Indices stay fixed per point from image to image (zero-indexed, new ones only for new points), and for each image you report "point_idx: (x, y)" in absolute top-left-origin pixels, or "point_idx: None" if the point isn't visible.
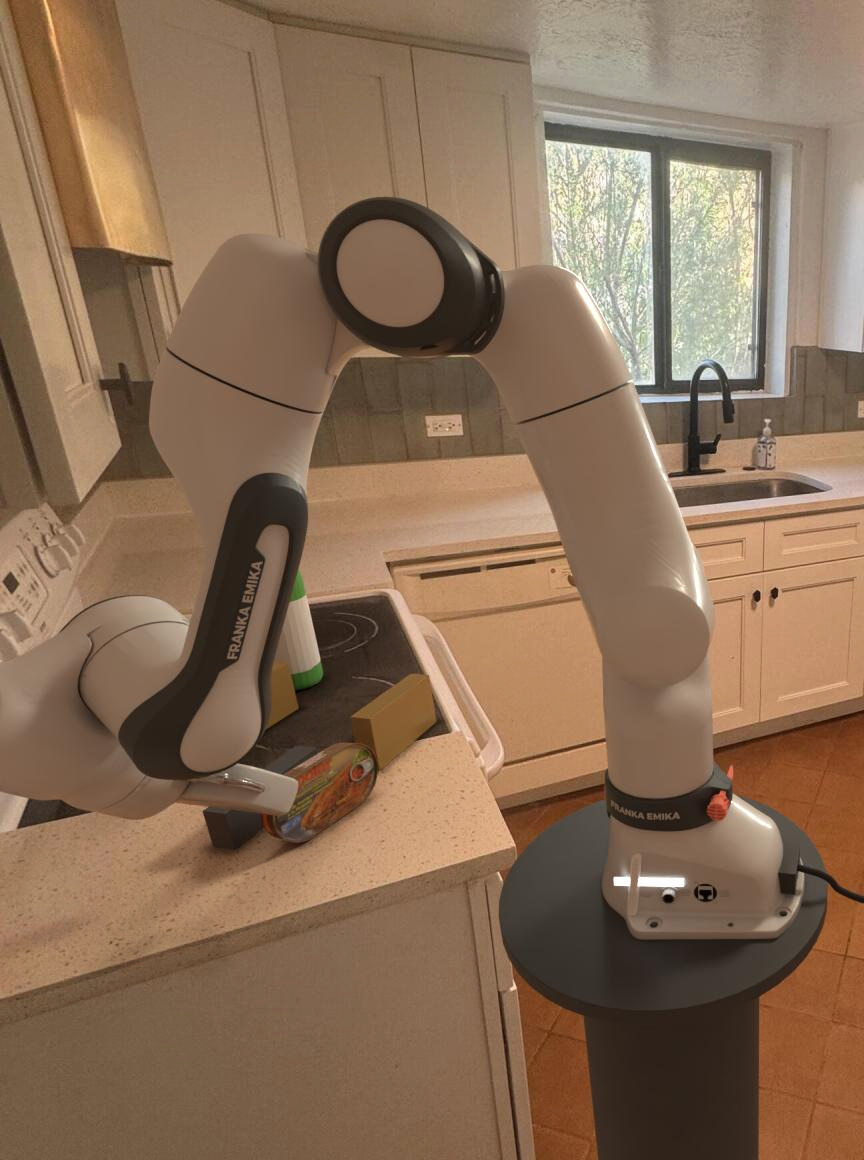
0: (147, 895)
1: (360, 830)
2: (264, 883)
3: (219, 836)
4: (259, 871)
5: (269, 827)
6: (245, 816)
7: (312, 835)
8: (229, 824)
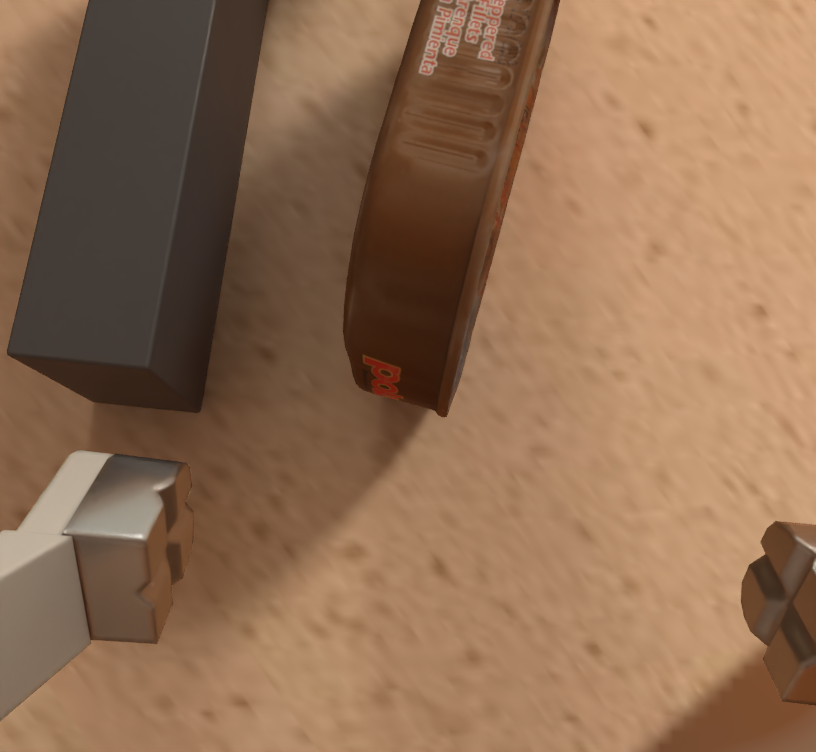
0: (17, 728)
1: (631, 255)
2: (465, 603)
3: (122, 394)
4: (394, 532)
5: (401, 399)
6: (190, 293)
7: (474, 308)
8: (170, 376)
